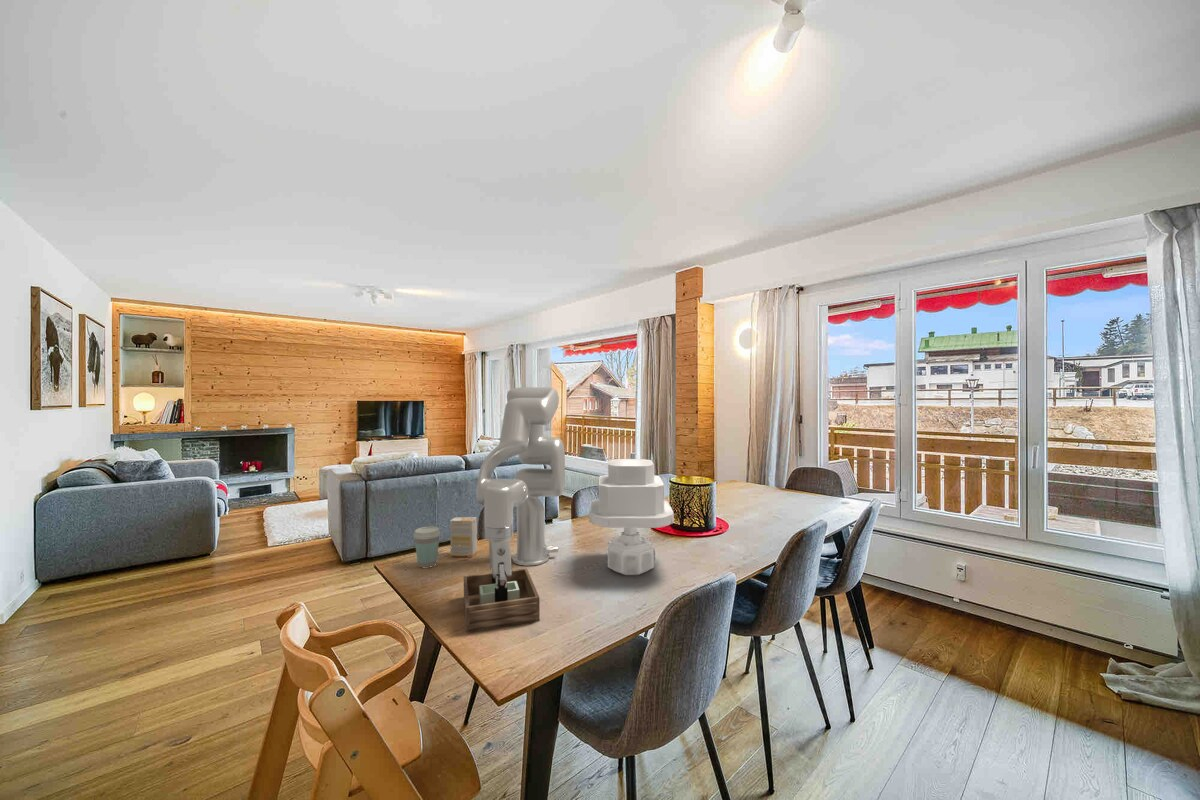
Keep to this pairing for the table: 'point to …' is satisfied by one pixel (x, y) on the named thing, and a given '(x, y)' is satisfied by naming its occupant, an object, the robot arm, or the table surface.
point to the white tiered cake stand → (630, 512)
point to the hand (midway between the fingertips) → (499, 595)
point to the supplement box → (463, 536)
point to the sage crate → (489, 592)
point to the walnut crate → (500, 603)
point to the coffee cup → (427, 545)
